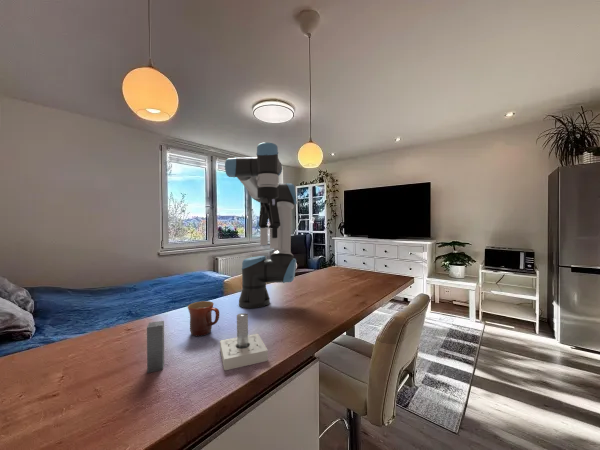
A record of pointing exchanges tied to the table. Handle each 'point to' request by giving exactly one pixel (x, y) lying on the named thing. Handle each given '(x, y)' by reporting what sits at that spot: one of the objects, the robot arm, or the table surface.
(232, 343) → the bore block
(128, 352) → the table surface
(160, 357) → the square bit
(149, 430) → the table surface
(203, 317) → the mug
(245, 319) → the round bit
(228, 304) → the table surface
